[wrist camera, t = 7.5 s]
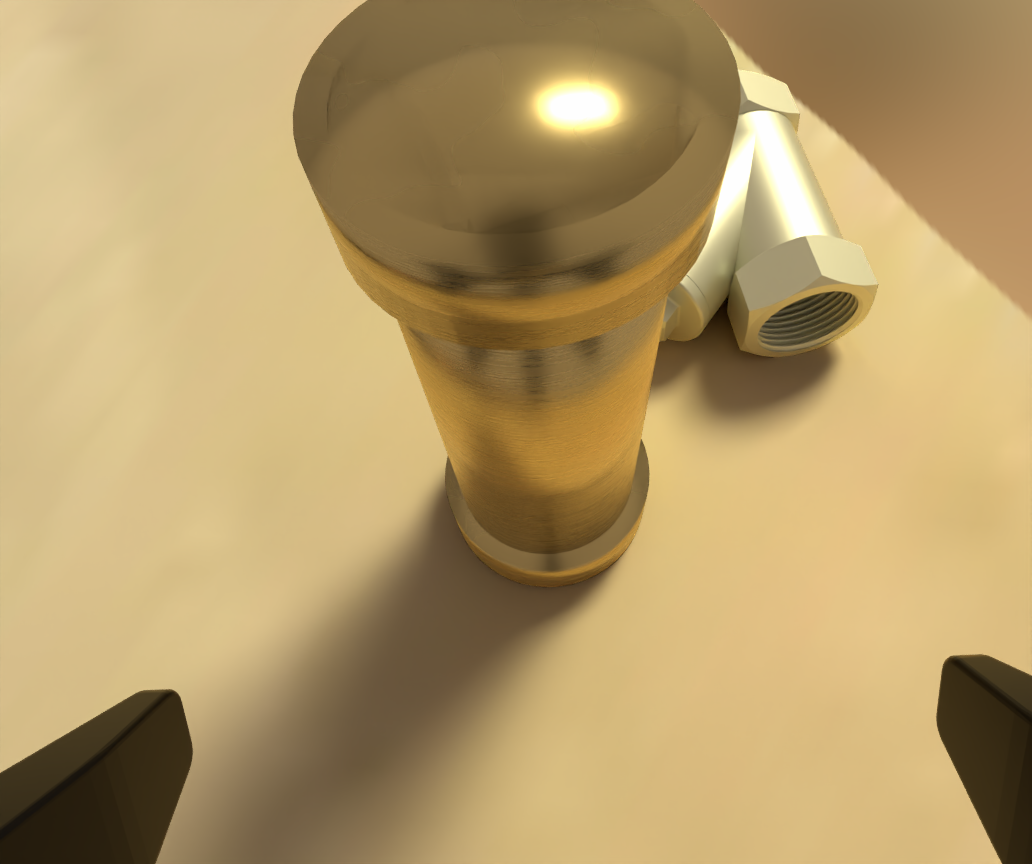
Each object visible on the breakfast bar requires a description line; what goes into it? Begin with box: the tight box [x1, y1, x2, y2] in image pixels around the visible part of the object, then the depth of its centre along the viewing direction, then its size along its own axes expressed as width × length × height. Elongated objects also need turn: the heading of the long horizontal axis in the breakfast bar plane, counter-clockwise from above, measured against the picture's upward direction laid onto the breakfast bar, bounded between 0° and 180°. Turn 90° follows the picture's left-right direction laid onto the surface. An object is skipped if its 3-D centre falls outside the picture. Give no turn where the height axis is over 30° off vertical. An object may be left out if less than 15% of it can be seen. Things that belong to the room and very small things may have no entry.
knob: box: [293, 0, 741, 587], centre depth 14 cm, size 5×5×13 cm
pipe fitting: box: [659, 70, 878, 357], centre depth 22 cm, size 8×4×7 cm
